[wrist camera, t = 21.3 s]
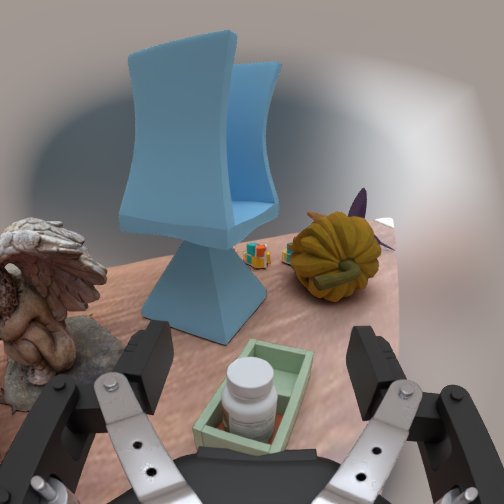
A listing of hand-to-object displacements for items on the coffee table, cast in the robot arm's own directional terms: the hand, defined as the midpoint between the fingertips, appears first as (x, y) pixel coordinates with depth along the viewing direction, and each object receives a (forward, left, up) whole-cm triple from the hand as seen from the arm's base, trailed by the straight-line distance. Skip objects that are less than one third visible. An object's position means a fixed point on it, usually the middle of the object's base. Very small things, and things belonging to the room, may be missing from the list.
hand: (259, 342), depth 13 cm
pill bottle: (+2, -5, -15) cm, 16 cm away
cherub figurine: (+27, -5, -16) cm, 32 cm away
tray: (+2, -9, -16) cm, 18 cm away
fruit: (+5, -45, -12) cm, 47 cm away
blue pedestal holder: (+16, -24, -16) cm, 33 cm away
